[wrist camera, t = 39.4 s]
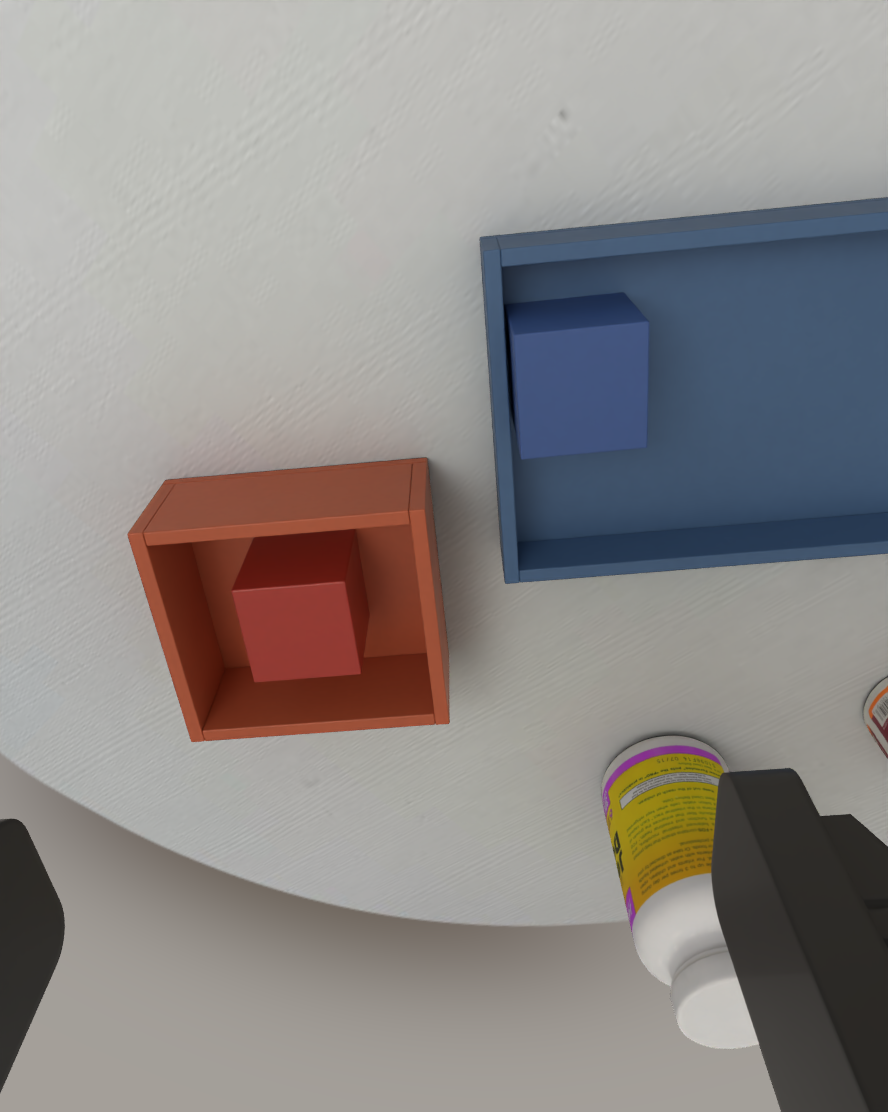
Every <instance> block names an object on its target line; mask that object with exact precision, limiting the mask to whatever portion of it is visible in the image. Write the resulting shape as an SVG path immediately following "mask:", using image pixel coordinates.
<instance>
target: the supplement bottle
mask: <svg viewBox="0 0 888 1112" xmlns="http://www.w3.org/2000/svg"><path fill="white" fill-rule="evenodd" d="M726 772H730V771H729V769H728V767H727V765H726V763H725V761H724V759H723V758H722V757H721V756H720V755H719V754H718V753H717V752H716V751H715V750H714V749H713V748H711V747H710V746H708V745H707V744H705V743H703V742H701V741H698V740H696V739H692V738H688V737H683V736H661V737H655V738H651V739H647V740H644V741H641V742H639V743H637V744H635V745H633V746H631V747H629V748H628V749H626V750H625V751H623V752H622V753H621V754H620V755H618V756H617V757H616V758H615V759H614V760H613V762H612V763H611V764H610V766H609V767H608V769H607V770H606V773H605V775H604V778H603V781H602V786H601V795H602V801H603V807H604V812H605V817H606V821H607V825H608V830H609V834H610V838H611V843H612V847H613V851H614V856H615V860H616V865H617V869H618V874H619V878H620V882H621V886H622V891H623V895H624V900H625V904H626V908H627V912H628V917H629V922H630V926H631V930H632V936H633V940H634V944H635V948H636V950H637V953H638V956H639V958H640V960H641V961H642V963H643V964H644V966H645V967H646V968H647V969H648V971H649V972H650V973H651V974H652V975H653V976H654V977H656V978H657V979H659V980H660V981H661V982H663V983H665V984H666V985H668V986H670V987H671V990H670V997H671V1002H672V1006H673V1009H674V1013H675V1017H676V1021H677V1024H678V1026H679V1028H680V1030H681V1031H682V1033H683V1034H684V1035H685V1036H686V1037H688V1038H689V1039H690V1040H692V1041H694V1042H696V1043H699V1044H701V1045H704V1046H707V1047H712V1048H719V1049H736V1048H744V1047H749V1046H753V1045H757V1044H759V1042H758V1039H757V1036H756V1033H755V1030H754V1027H753V1024H752V1021H751V1018H750V1015H749V1012H748V1009H747V1006H746V1003H745V1000H744V997H743V994H742V991H741V988H740V985H739V981H738V978H737V975H736V972H735V969H734V966H733V963H732V960H731V957H730V954H729V951H728V948H727V945H726V942H725V939H724V936H723V933H722V930H721V926H720V923H719V920H718V916H717V912H716V907H715V902H714V896H713V889H712V877H711V862H712V851H713V839H714V828H715V817H716V805H717V794H718V784H719V779H720V776H721V774H722V773H726Z"/></svg>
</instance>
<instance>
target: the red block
mask: <svg viewBox="0 0 888 1112" xmlns="http://www.w3.org/2000/svg"><path fill="white" fill-rule="evenodd" d="M231 593H232V597H233V601H234V605H235V609H236V613H237V617H238V621H239V624H240V628H241V632H242V636H243V640H244V644H245V648H246V652H247V656H248V660H249V664H250V667H251V671H252V675H253V679H254V682H267V681H280V680H293V679H306V678H319V677H332V676H345V675H357V674H361V673H362V666H363V659H364V652H365V645H366V638H367V630H368V623H369V616H370V613H369V607H368V601H367V595H366V589H365V583H364V577H363V571H362V565H361V559H360V553H359V546H358V540H357V534H356V530H355V529H348V530H336V531H323V532H311V533H299V534H287V535H275V536H264V537H254V538H253V540H252V542H251V545H250V547H249V549H248V552H247V554H246V557H245V559H244V561H243V564H242V566H241V568H240V571H239V573H238V576H237V578H236V580H235V583H234V585H233V588H232V590H231Z"/></svg>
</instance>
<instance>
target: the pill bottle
mask: <svg viewBox="0 0 888 1112" xmlns="http://www.w3.org/2000/svg"><path fill="white" fill-rule="evenodd" d="M864 721H865V724H866V726H867V728H868V730H869V731H870V733H871V735H872V736H873V738H874V740H875V741H876V742H877V744H878V745H879V747H880V748H881V750H882V751H883V753H884V754H885V756H886V757H887V758H888V677H887V678H886V679H884V680H883V681H881V682H880V683H879V684H878V685H877V686H876V687H875V688H874V689H873V691H872V692H871V693H870V695H869V696H868V698H867V701H866V703H865V706H864Z"/></svg>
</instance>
